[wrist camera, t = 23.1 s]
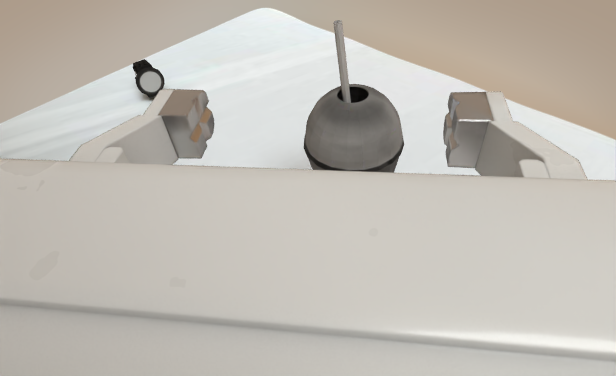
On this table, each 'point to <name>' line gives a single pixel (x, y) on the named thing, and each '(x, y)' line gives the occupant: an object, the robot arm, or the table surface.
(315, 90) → the table surface
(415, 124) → the table surface
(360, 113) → the beverage cup
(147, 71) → the smartwatch
